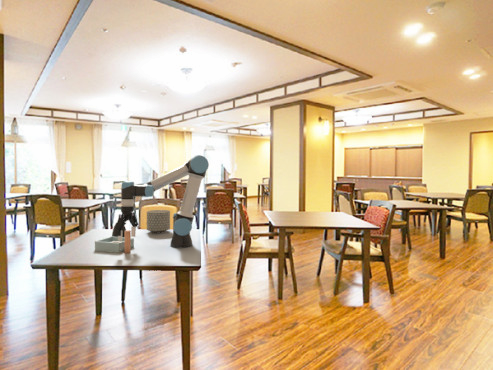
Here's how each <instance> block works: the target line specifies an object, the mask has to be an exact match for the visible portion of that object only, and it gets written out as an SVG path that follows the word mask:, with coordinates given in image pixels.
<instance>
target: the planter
mask: <svg viewBox="0 0 493 370" xmlns="http://www.w3.org/2000/svg"><path fill="white" fill-rule="evenodd" d="M170 229H171V211H170V210H167V209H152V210H147V211H146V230H147V231H148V232H151V233H153V234H163V233H165V232H168V231H169V230H170Z"/></svg>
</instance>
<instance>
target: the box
mask: <svg viewBox="0 0 493 370" xmlns="http://www.w3.org/2000/svg"><path fill="white" fill-rule="evenodd" d="M134 241H135V237H131V249H133V248H135V242H134ZM94 251H97V252H106V253H107V252H108V253H116V254H117V253H118V254H119V253H122V252H125V237H122V241H118V237H113V236H112V235H111V236H109V237H105V238H102V239H98V240H95V241H94Z"/></svg>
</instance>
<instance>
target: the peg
mask: <svg viewBox="0 0 493 370" xmlns="http://www.w3.org/2000/svg"><path fill="white" fill-rule="evenodd" d="M131 238H132V237H131V230H127V229H126V231H125V250H124V254H131V251H132V250H131V249H132V248H131Z"/></svg>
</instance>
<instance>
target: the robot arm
mask: <svg viewBox="0 0 493 370" xmlns="http://www.w3.org/2000/svg"><path fill="white" fill-rule="evenodd" d="M209 166H210V165H209V161H208V159H207V158H206V156H203V155H201V154H199V155H194V156H193V157H191V159H189V160H188V161H186V162H184V163H183V165H181V166H179V167H177V168H175V169H173V170H170V171H168V172H167V173H165V174H162V175H160V176H158V177H156V178H154V179H152V180H149V181H148V182H146V183H143V184H135V182H134V181H122V183H121V187H120V189H121V190H120V191H121V192H120V195H121V196H120V200H121V201H120V203H121V207H120V212H121V213H122V214H121V213H120V214H118V219H117V222H116V223H117V224H116V223H115V224H116V228H115V230H117V231H118V241H122V228H123V226H125V225H126V224H125V223H127V222H129V223H130V224H131V228H130V229H131V230H130V231H131V238H136V230H137V227H138V226H139V222H138V219H137V216H136V211H134V210H135V209H134V208H135V207H134V205H135V202H134V201H135V197H139V198H141V197H143V198H144V197H146V198H149V197H150V198H151V197H153V196H154V192H156V191H158V190H161V189H162V188H164V187H166V186H168V185H172V184H173V183H175V182H177V181H178V180H181V179H183V178H185V177H187V176H188V179H187V183H186V186H185V190H184V194H183V197H182V201H181V204H180V207H179V208H180V209H179V210H178V211H177V212H176V213H173V216H172V219H173V220H172V224H173V225H172V229H173V231H172V232H173V233H172V237H171V240H170V247H172V248H178V247H182V248H188V246H189V247H191V245H192V246H193V240H192V237H191V231H192V228H193V222H194V218H195V217H194V214H193V213H194V209H195V205H196V202H197V198H198V195H199V190H200V187H201V183H202V180H203V179H205V176H206V173H207V171H208V169H209ZM124 224H125V225H124Z"/></svg>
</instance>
